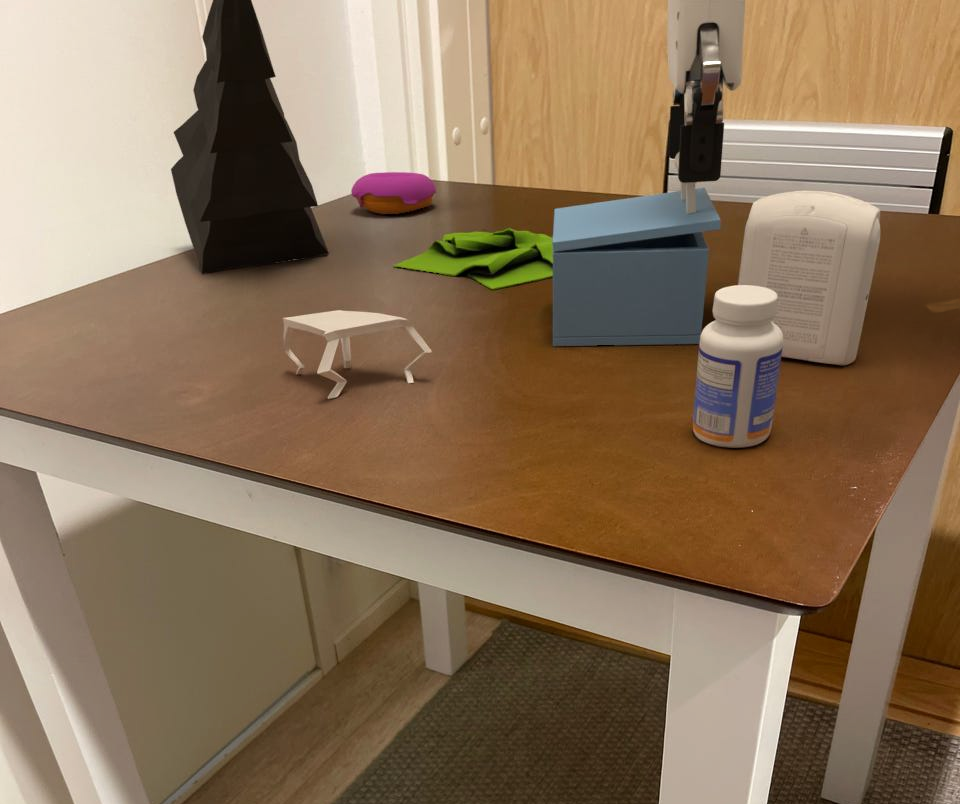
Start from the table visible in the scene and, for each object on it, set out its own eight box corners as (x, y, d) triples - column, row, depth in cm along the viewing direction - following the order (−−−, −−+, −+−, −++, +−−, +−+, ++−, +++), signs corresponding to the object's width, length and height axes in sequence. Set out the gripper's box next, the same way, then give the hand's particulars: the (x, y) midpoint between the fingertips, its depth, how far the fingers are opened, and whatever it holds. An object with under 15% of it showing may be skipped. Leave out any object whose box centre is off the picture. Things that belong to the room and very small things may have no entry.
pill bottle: (758, 415, 70) (777, 278, 65) (779, 448, 66) (801, 304, 60) (684, 420, 70) (695, 283, 65) (700, 452, 66) (714, 308, 60)
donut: (449, 206, 128) (447, 168, 126) (395, 222, 122) (392, 183, 119) (394, 197, 134) (391, 161, 131) (340, 213, 128) (335, 175, 125)
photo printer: (862, 353, 79) (893, 190, 72) (850, 371, 76) (881, 203, 69) (739, 337, 84) (757, 182, 76) (723, 353, 81) (740, 193, 73)
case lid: (705, 196, 86) (704, 140, 84) (720, 229, 77) (720, 167, 74) (555, 217, 88) (550, 163, 86) (553, 252, 79) (547, 192, 76)
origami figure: (284, 407, 76) (273, 345, 73) (287, 368, 82) (278, 310, 79) (436, 393, 77) (432, 331, 74) (428, 356, 83) (423, 298, 80)
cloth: (629, 267, 102) (630, 243, 100) (433, 300, 96) (431, 274, 94) (547, 226, 117) (547, 204, 116) (374, 251, 111) (372, 229, 110)
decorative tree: (203, 298, 111) (163, 10, 78) (173, 197, 115) (123, -116, 82) (328, 279, 115) (339, -3, 82) (295, 182, 119) (293, -123, 86)
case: (687, 301, 92) (694, 214, 87) (700, 344, 83) (709, 249, 78) (554, 304, 93) (554, 218, 88) (552, 346, 84) (552, 253, 79)
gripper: (781, -98, 62) (755, 189, 73) (743, -93, 76) (725, 147, 86) (663, -88, 63) (653, 194, 73) (647, -85, 77) (640, 152, 87)
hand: (692, 168), depth 80 cm, fingers open, 9 cm apart
